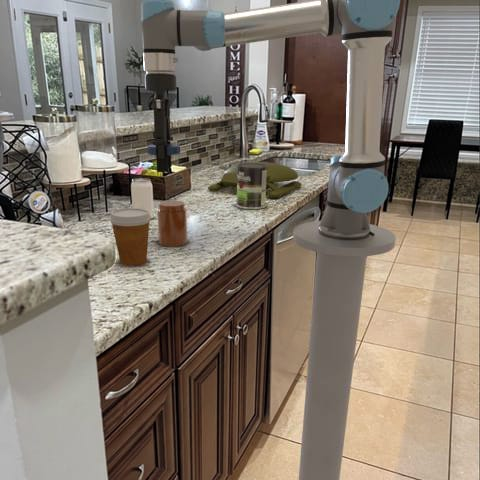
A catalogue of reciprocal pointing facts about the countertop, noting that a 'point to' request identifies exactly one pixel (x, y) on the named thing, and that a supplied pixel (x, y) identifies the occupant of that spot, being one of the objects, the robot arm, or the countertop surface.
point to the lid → (171, 149)
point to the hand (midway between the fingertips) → (164, 168)
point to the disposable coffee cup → (131, 234)
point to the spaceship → (273, 175)
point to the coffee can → (251, 185)
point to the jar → (172, 223)
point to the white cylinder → (142, 195)
